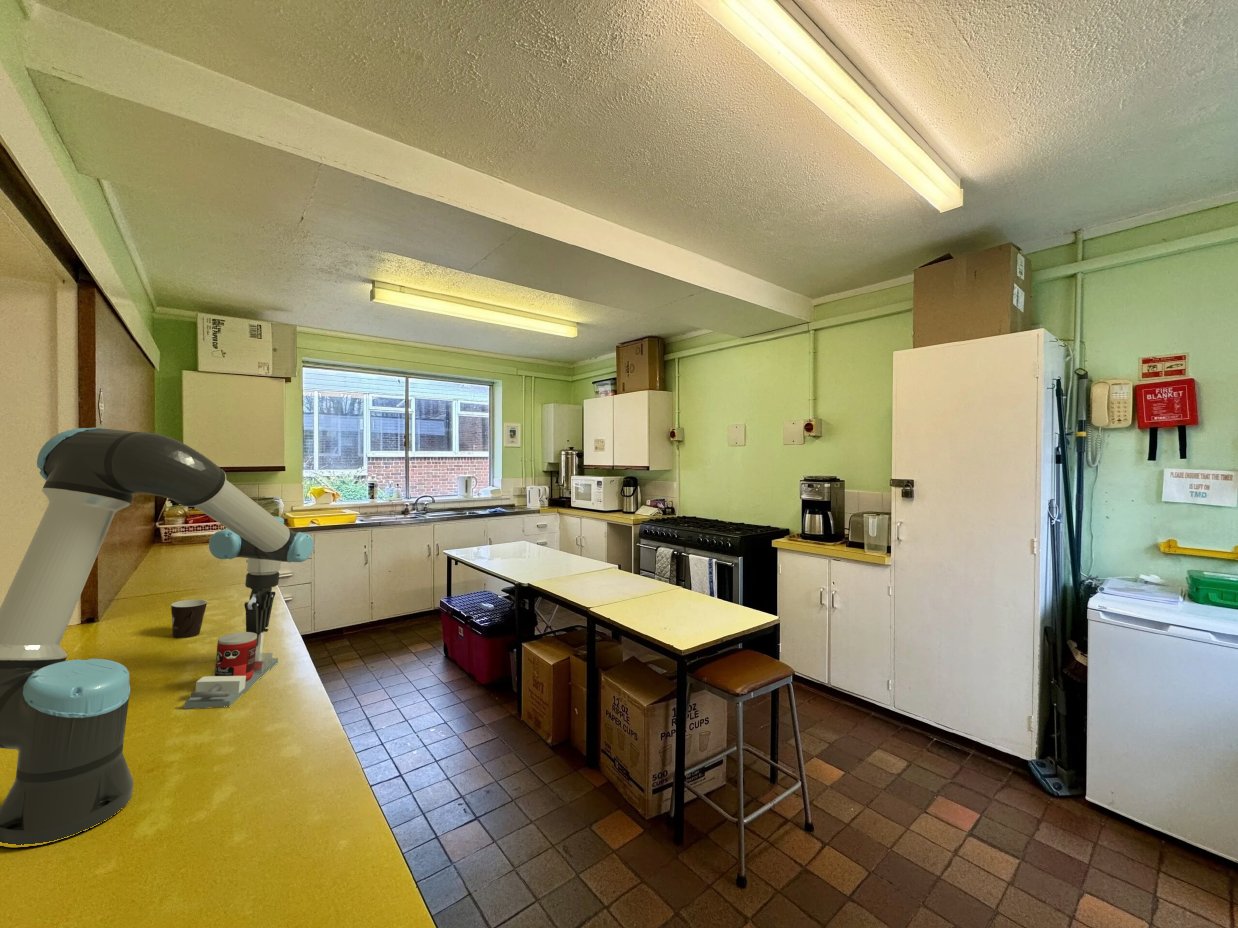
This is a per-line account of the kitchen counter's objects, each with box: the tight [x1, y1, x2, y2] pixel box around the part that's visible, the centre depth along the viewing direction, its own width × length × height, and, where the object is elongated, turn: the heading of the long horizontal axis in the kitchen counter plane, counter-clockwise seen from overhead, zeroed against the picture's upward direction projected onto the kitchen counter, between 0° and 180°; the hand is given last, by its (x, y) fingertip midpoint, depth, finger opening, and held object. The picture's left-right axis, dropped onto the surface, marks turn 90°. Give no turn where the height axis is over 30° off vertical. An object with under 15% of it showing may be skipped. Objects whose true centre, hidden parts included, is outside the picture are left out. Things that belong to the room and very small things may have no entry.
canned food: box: [214, 631, 257, 682], centre depth 125 cm, size 8×8×11 cm
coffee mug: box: [170, 598, 208, 639], centre depth 153 cm, size 12×9×10 cm
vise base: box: [183, 657, 279, 710], centre depth 126 cm, size 26×9×4 cm, turn 14°
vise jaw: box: [254, 652, 273, 673], centre depth 132 cm, size 6×9×3 cm, turn 104°
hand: (254, 656), depth 136 cm, fingers closed
